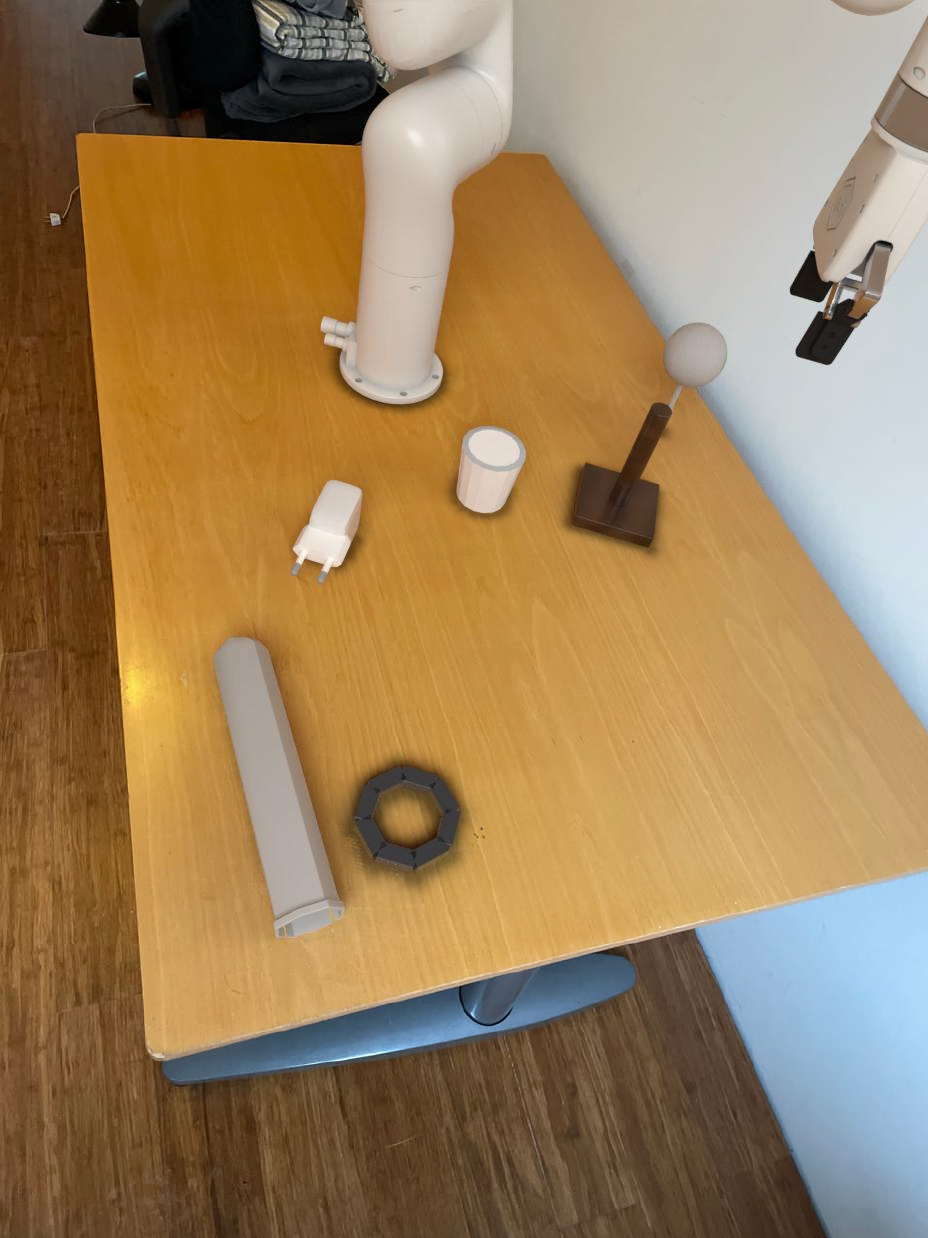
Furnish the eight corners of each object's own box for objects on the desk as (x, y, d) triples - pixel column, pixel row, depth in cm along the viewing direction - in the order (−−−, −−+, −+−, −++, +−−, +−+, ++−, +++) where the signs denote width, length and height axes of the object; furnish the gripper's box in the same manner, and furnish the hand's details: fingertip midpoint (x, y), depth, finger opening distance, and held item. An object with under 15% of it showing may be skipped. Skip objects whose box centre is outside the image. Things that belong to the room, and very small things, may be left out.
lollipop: (684, 456, 101) (738, 355, 89) (629, 441, 100) (675, 337, 89) (686, 421, 105) (738, 319, 93) (633, 406, 105) (678, 302, 93)
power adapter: (329, 607, 78) (332, 569, 73) (280, 592, 78) (281, 553, 73) (365, 527, 84) (370, 487, 80) (320, 513, 84) (323, 472, 80)
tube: (195, 639, 68) (262, 931, 56) (255, 616, 69) (335, 901, 56) (219, 668, 73) (286, 943, 60) (275, 646, 73) (354, 915, 61)
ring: (342, 854, 64) (344, 847, 63) (372, 763, 69) (374, 756, 68) (442, 883, 64) (445, 877, 63) (465, 790, 69) (468, 783, 68)
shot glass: (518, 485, 92) (534, 439, 87) (500, 526, 88) (515, 479, 83) (462, 464, 93) (474, 416, 87) (442, 503, 88) (453, 455, 83)
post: (571, 524, 90) (614, 424, 79) (581, 471, 96) (623, 370, 84) (648, 547, 90) (703, 450, 79) (654, 493, 96) (706, 395, 84)
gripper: (869, 60, 63) (764, 265, 77) (898, 155, 52) (770, 373, 66) (961, 87, 63) (840, 286, 77) (1008, 188, 53) (858, 398, 66)
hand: (808, 326), depth 71 cm, fingers open, 9 cm apart
